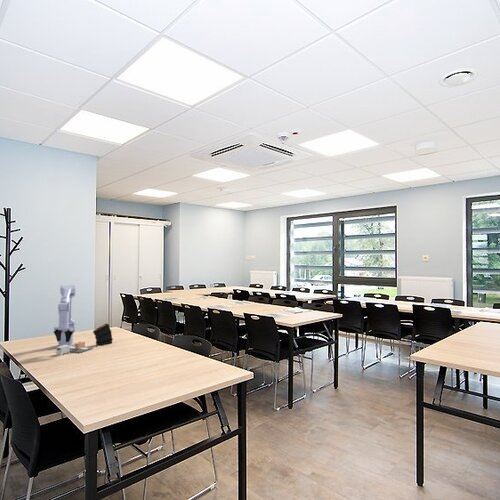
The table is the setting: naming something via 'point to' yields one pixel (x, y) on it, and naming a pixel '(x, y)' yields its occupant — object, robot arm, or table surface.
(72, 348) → the din rail
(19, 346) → the table surface
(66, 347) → the block
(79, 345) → the block with grey knob
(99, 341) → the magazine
